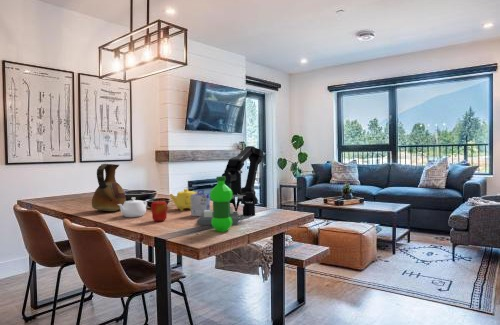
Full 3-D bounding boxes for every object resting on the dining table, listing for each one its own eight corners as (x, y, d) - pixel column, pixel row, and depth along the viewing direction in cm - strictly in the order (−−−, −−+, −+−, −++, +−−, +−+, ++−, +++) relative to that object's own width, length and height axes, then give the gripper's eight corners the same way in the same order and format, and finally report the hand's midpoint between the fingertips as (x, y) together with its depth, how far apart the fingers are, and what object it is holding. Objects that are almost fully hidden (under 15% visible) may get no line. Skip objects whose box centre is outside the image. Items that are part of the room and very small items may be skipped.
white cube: (232, 214, 190) (232, 206, 190) (232, 215, 187) (232, 207, 187) (225, 214, 190) (225, 206, 190) (225, 215, 187) (224, 208, 187)
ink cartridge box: (210, 214, 204) (209, 189, 203) (207, 216, 198) (206, 191, 198) (194, 214, 206) (193, 189, 205) (190, 216, 200) (190, 190, 200)
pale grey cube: (212, 217, 181) (212, 209, 181) (211, 219, 178) (211, 211, 178) (204, 217, 181) (204, 210, 181) (204, 219, 178) (203, 211, 178)
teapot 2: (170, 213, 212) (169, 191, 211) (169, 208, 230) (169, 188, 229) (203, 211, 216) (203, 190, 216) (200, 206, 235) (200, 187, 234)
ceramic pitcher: (131, 208, 230) (130, 162, 229) (114, 214, 210) (113, 164, 209) (104, 208, 233) (103, 162, 232) (85, 213, 214) (83, 164, 213)
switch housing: (238, 218, 192) (238, 211, 192) (237, 224, 176) (237, 217, 176) (201, 218, 192) (201, 212, 192) (197, 225, 176) (197, 217, 176)
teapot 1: (138, 212, 216) (137, 194, 215) (155, 213, 210) (155, 195, 209) (109, 218, 196) (108, 199, 196) (127, 220, 190) (126, 200, 190)
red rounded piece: (151, 223, 183) (150, 200, 182) (151, 220, 191) (150, 198, 190) (168, 221, 185) (167, 199, 185) (167, 218, 193) (166, 197, 193)
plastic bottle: (237, 230, 163) (236, 176, 162) (217, 234, 157) (216, 178, 156) (225, 226, 171) (225, 175, 170) (206, 230, 165) (205, 176, 164)
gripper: (252, 180, 196) (253, 208, 197) (219, 180, 196) (219, 208, 196) (253, 182, 185) (253, 211, 186) (217, 182, 185) (218, 212, 185)
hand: (236, 211), depth 189 cm, fingers closed
